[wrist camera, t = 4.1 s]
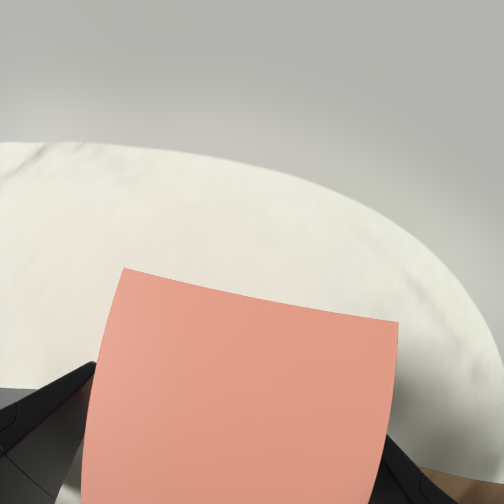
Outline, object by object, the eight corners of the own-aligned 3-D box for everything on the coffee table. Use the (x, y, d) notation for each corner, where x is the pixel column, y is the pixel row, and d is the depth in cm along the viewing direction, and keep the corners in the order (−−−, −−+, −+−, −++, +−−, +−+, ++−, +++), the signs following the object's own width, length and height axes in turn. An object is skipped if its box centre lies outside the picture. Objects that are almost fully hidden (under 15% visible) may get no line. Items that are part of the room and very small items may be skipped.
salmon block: (257, 434, 14) (348, 551, 2) (175, 419, 14) (80, 516, 2) (271, 359, 16) (398, 321, 5) (191, 343, 16) (123, 267, 4)
